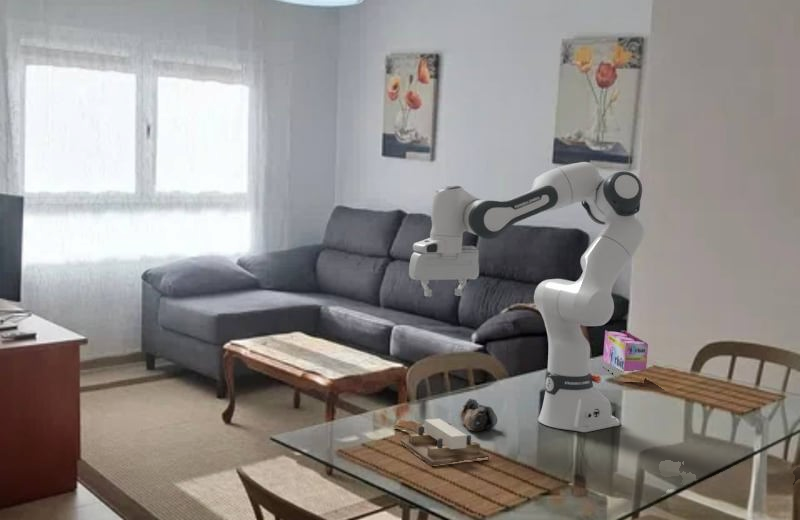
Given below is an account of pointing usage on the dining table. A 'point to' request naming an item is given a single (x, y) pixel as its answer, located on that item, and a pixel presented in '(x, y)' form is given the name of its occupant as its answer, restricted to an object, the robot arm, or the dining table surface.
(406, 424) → the shard
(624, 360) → the gum box
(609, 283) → the robot arm
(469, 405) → the bison figurine
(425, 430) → the clay strip
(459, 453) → the walnut rack
